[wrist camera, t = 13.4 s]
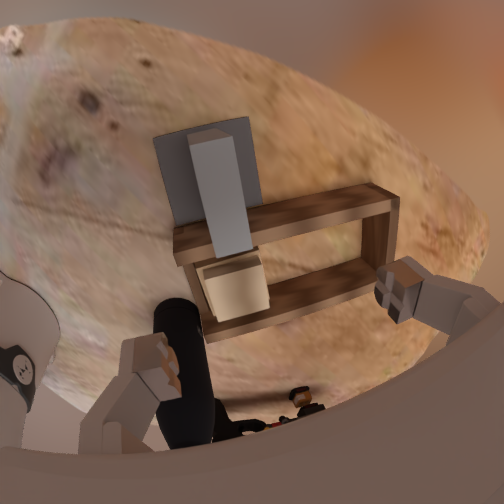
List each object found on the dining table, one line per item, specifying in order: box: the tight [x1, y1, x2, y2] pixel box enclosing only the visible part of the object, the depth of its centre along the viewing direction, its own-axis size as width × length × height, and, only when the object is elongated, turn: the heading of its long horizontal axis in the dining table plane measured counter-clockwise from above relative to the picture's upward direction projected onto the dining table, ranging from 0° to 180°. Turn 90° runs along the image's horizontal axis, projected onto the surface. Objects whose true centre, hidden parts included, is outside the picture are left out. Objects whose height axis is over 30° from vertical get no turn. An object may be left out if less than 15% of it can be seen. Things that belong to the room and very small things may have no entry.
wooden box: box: [173, 183, 400, 344], centre depth 34 cm, size 26×13×6 cm, turn 99°
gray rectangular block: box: [187, 128, 253, 258], centre depth 24 cm, size 3×9×10 cm, turn 9°
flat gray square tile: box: [153, 117, 263, 226], centre depth 29 cm, size 10×10×1 cm
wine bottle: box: [153, 298, 215, 450], centre depth 24 cm, size 6×6×30 cm
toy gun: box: [212, 386, 326, 443], centre depth 47 cm, size 6×28×15 cm, turn 82°
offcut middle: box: [195, 246, 270, 316], centre depth 32 cm, size 7×7×2 cm
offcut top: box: [203, 255, 270, 322], centre depth 30 cm, size 6×6×2 cm
